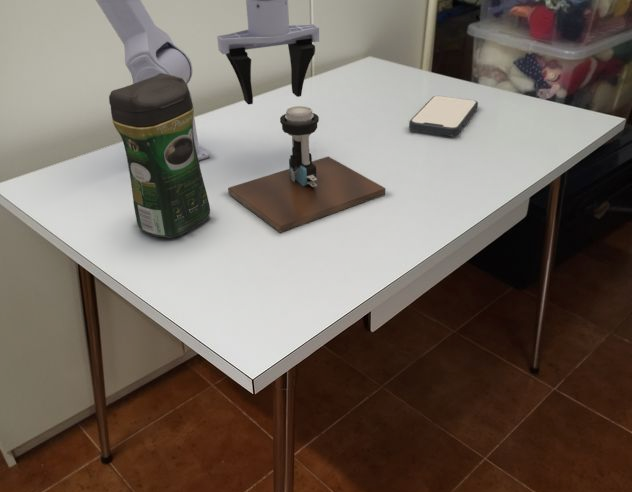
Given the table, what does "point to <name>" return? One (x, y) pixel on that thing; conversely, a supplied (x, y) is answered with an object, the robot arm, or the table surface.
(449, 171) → the table surface
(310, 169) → the push button
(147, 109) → the coffee jar
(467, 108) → the phone case
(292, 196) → the walnut board
